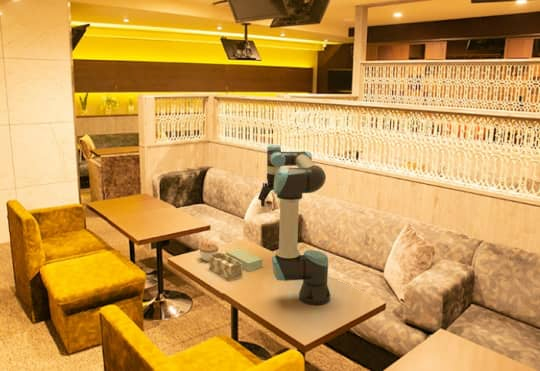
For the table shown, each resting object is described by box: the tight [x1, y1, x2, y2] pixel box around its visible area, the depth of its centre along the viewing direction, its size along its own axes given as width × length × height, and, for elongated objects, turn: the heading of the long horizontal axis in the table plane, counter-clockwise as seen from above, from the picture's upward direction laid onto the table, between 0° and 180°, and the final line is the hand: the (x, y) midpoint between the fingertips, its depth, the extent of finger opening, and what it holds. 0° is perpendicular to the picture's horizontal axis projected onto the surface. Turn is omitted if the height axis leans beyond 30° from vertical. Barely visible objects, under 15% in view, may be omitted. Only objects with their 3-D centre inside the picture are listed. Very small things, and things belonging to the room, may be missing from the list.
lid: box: [225, 248, 263, 272], centre depth 265 cm, size 22×10×5 cm, turn 40°
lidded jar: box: [199, 243, 219, 263], centre depth 269 cm, size 11×11×9 cm
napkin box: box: [208, 252, 243, 282], centre depth 251 cm, size 20×8×8 cm, turn 40°
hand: (272, 209), depth 262 cm, fingers open, 13 cm apart
